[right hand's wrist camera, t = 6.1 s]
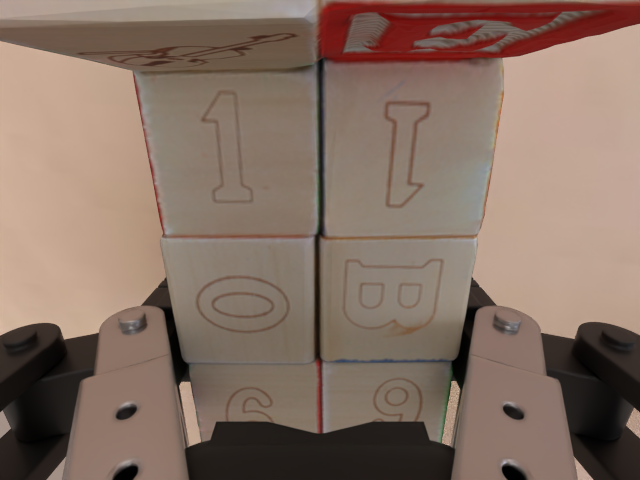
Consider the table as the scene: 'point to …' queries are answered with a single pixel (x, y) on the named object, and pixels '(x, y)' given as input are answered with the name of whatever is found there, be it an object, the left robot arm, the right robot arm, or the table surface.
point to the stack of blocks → (316, 183)
